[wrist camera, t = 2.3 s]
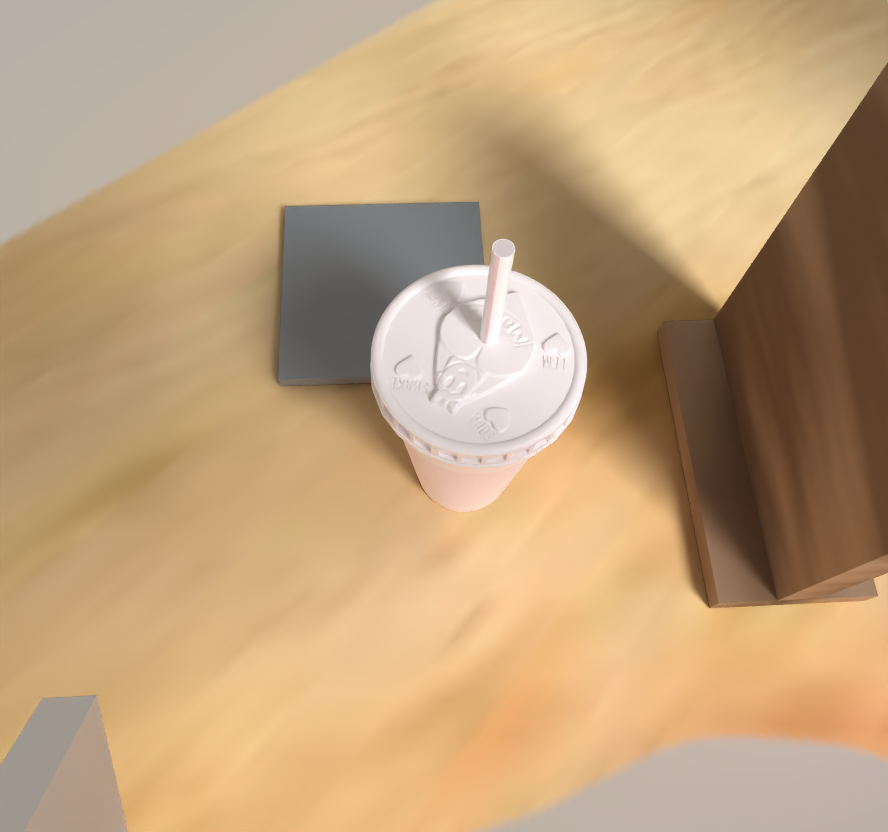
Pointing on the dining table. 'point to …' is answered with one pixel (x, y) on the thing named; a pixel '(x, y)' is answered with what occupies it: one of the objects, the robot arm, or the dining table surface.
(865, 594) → the screen
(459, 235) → the coaster
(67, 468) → the dining table surface
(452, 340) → the smoothie
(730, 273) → the dining table surface
